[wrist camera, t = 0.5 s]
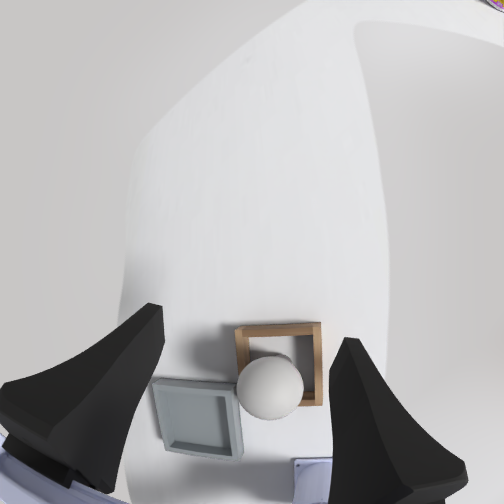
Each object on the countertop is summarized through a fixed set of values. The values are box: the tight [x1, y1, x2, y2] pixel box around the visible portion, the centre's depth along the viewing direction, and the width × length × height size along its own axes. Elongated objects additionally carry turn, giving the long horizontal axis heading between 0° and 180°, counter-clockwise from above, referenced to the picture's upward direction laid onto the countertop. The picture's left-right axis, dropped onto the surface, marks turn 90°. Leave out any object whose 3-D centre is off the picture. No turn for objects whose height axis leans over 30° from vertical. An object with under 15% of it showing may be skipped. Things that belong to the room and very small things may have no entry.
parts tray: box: [152, 378, 244, 462], centre depth 35 cm, size 11×11×2 cm
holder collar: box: [235, 322, 323, 406], centre depth 33 cm, size 9×9×2 cm
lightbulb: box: [237, 355, 304, 420], centre depth 29 cm, size 6×6×11 cm
